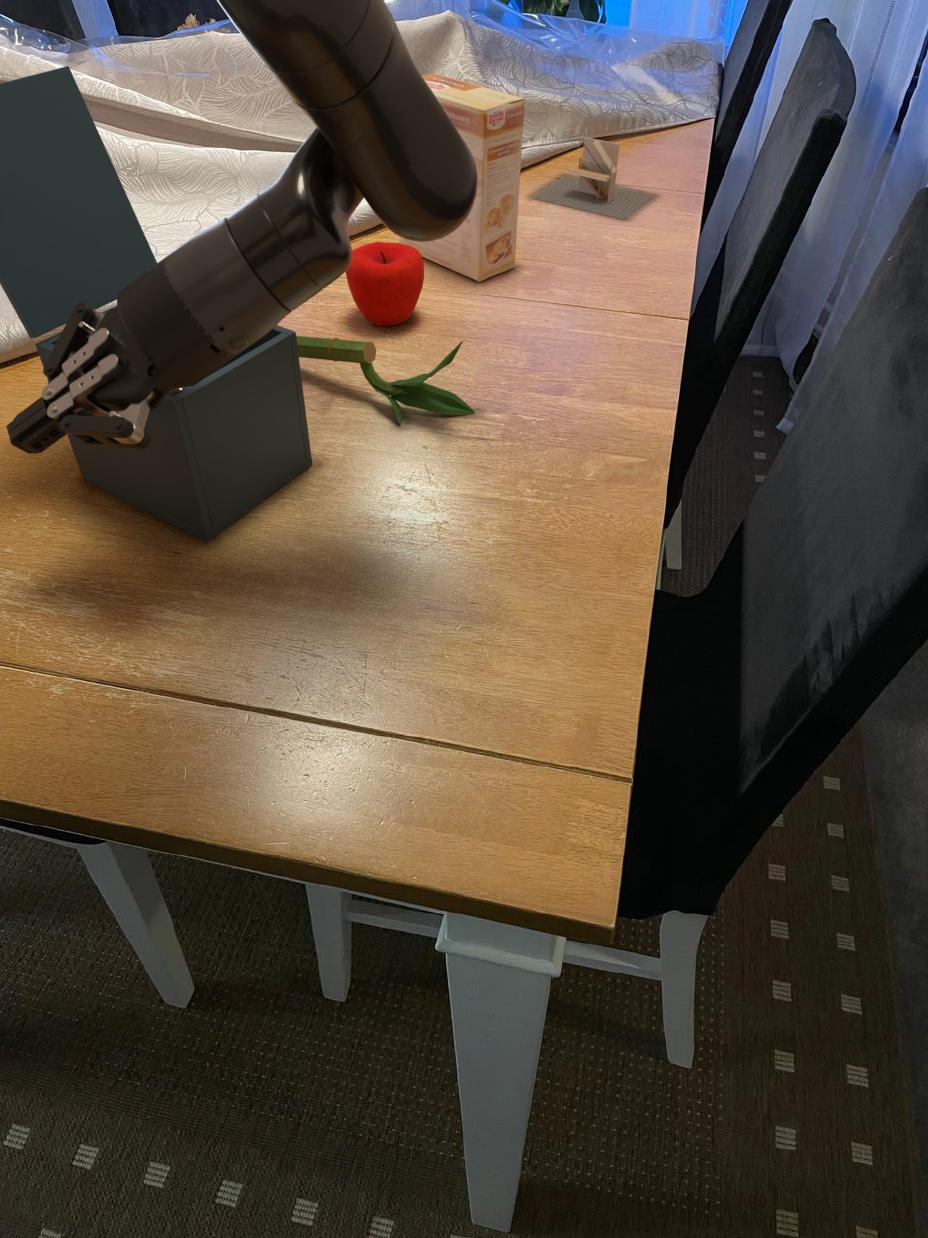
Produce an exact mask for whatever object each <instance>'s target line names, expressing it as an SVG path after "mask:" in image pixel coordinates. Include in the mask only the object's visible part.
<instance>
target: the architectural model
mask: <svg viewBox="0 0 928 1238" xmlns="http://www.w3.org/2000/svg"><path fill="white" fill-rule="evenodd" d="M583 138H584V139H583V143H582V144H583V147H582V157H579V160H578V163H572V164H570V165H569V166H568V167H565V169H564V170H563V171H564V173H566V174H571V175H574V176H579V178H578V177H572V176H569V175H564V176H562V177H561V178H560V179H558V180H556V181H555V182H554V183H552V184H551V185H548V187H546V188H545V189H542V191H540V192H538V193H537V194H536V195H534V196H532V198H531V199H535V200H537V201H543V202H547V203H551V204H555V205H560V206H564V207H569V208H572V209H577V210H580V211H585V212H590V213H593V214H598V215H603V216H605V217H606V216H607V217H610V218H615V219H620V220H622V221H623V220H624V221H625V220H626V219H628V218H629V217H630V216H632V215H633V214H634V213H635V212H637V211H638V210H639V209H640V208H641V207H643V206H644V205H645V204H646V203H648V202H649V201H650V200H651V199H653V198H654V197H655V195H654V194H650V193H646V192H641V191H638V190H637V191H636V190H632V189H629V188H628V189H627V188H624V187H623V188H622V187H619V186H616V181H617V174H618V167H617V166H618V161H619V152H620V143H616V142H611V141H607V140H602V139H596V138H592V137H586V136H585V137H583Z"/></svg>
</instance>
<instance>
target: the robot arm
mask: <svg viewBox="0 0 928 1238" xmlns="http://www.w3.org/2000/svg"><path fill="white" fill-rule="evenodd" d="M216 1H217V3H218V4H219V6H220V7H221V9H222V10H223V11H224V13H225V14H226V16H227V17H228V18H229V20H230V22H231V23H232V24H233V26H234V27H235V29H236V30H237V31H238V32H239V34H240V35H241V36H242V38H243V39H244V40H245V42H246V43H247V44H248V46H249V47H250V49H251V50H252V51H253V52H254V54H255V55H256V56H257V58H258V59H259V60H260V62H261V63H262V64H263V65H264V67H265V68H266V69H267V70H268V72H269V73H270V75H271V76H272V77H273V78H274V79H275V81H276V82H277V83H278V85H279V86H280V87H281V88H282V89H283V91H284V92H285V93H286V95H287V96H288V97H289V99H290V100H291V101H292V102H293V103H294V104H295V106H296V107H297V108H298V109H299V110H300V111H301V112H302V113H303V114H304V115H305V116H306V117H307V118H308V120H309V121H310V122H311V123H312V124H313V126H315V127H314V128H313V130H312V131H311V133H310V134H309V135H308V136H307V138H306V139H305V140H304V142H303V143H302V144H301V145H300V147H299V148H298V149H297V150H296V152H295V153H294V154H293V156H291V159H290V160H289V161H288V163H287V165H286V166H285V167H284V169H283V170H282V171H281V173H280V174H279V176H278V177H277V178H276V179H275V180H274V181H273V182H271V184H269V185H268V186H266V187H265V188H263V189H262V190H261V191H259V192H258V193H256V194H255V195H253V196H252V197H251V198H250V199H249V200H247V201H246V202H244V203H243V204H242V205H240V206H239V207H238V208H236V209H235V210H234V211H232V212H231V213H229V214H228V215H227V216H226V217H224V218H223V219H221V220H220V221H218V222H216V223H214V224H213V225H211V226H209V227H207V228H205V229H203V230H202V231H199V232H198V233H196V234H195V235H194V236H192V237H190V238H189V239H188V240H187V241H185V242H184V243H182V244H181V245H180V246H179V247H177V248H176V249H175V250H173V251H172V252H171V253H169V254H167V256H165V257H164V258H162V259H161V260H159V261H158V262H157V264H156V265H155V266H153V267H152V268H151V269H149V270H148V271H147V272H145V273H144V274H143V275H141V276H140V277H139V278H137V279H136V280H135V281H133V282H132V283H131V284H129V285H128V286H127V287H125V288H124V289H123V290H121V291H120V293H119V294H118V297H117V300H116V306H117V308H113V309H111V310H109V311H108V312H107V313H106V314H103V313H102V312H99V311H97V310H94V309H93V308H91V307H90V306H89V305H87V304H86V303H85V302H80V303H78V304H77V305H76V306H75V308H74V310H73V312H72V313H71V315H70V317H69V319H68V321H67V323H66V324H64V327H63V329H62V331H61V332H62V333H61V335H60V337H59V339H58V341H57V343H56V345H55V347H54V348H53V350H52V352H51V354H50V356H49V358H48V360H47V362H46V364H45V366H44V367H43V368H42V373H43V375H44V376H46V378H47V377H48V379H47V385H45V386H44V387H43V389H42V391H41V397H39V398H37V400H35V401H34V402H32V403H31V404H30V405H28V406H26V407H25V408H24V409H23V410H21V411H20V412H19V413H18V414H17V415H16V416H15V417H14V418H13V419H12V421H10V422H9V423H8V424H7V425H6V430H7V435H8V437H9V441H10V445H12V446H13V447H15V448H17V449H19V450H21V451H22V452H25V453H27V454H31V455H33V454H35V455H38V454H41V453H43V452H44V451H45V450H47V449H48V448H50V447H52V445H54V444H55V443H57V442H58V441H60V439H62V438H64V437H65V436H66V435H67V434H70V435H71V436H73V437H75V438H77V439H78V440H80V441H82V443H84V444H86V445H87V446H93V447H114V448H135V449H144V448H146V447H147V446H148V445H149V444H150V442H151V435H150V434H149V433H147V432H146V431H144V427H145V424H146V420H147V417H148V413H149V410H153V409H155V408H157V407H158V406H160V405H161V403H162V402H163V400H164V399H165V397H166V396H167V395H168V394H169V392H170V391H172V390H173V389H175V388H180V387H191V386H194V385H196V384H198V383H199V382H200V381H202V380H203V379H205V378H206V377H207V376H209V375H210V374H212V373H213V372H214V371H216V370H217V369H219V368H220V367H221V366H223V365H224V364H226V363H227V362H229V361H230V360H231V359H233V358H234V357H236V356H237V355H238V354H240V353H241V352H242V351H244V350H245V349H247V348H248V347H250V346H251V345H252V344H254V343H255V342H257V341H258V340H259V339H261V338H262V337H264V336H265V335H266V334H268V333H269V332H270V331H271V330H272V329H273V328H274V327H275V326H276V325H279V324H280V323H281V322H282V321H283V320H284V319H285V318H286V317H287V316H288V315H290V314H291V313H292V312H293V311H295V310H296V309H298V308H299V307H301V306H302V305H303V304H305V303H306V302H308V301H309V300H311V299H312V298H313V297H315V296H316V295H317V294H319V293H320V292H322V291H323V290H324V289H326V288H327V287H329V286H330V285H331V284H333V283H334V282H335V281H337V280H338V279H339V278H340V277H341V276H343V274H346V270H347V269H348V268H349V266H350V264H351V262H352V250H353V247H352V244H351V239H350V234H349V221H350V218H351V217H352V215H353V214H354V212H355V211H356V209H357V208H358V207H359V205H360V204H361V203H362V201H363V200H365V201H366V203H367V204H368V206H369V207H370V209H371V210H372V212H373V213H374V214H375V216H376V217H377V219H378V220H379V221H380V222H381V223H382V225H383V226H385V227H386V229H388V230H389V231H390V232H392V233H393V234H394V235H397V236H398V237H399V238H400V237H403V238H405V239H408V240H412V241H419V242H427V241H434V240H438V239H441V238H443V237H446V236H447V235H449V234H451V233H452V232H454V231H455V230H456V229H457V228H459V226H460V225H461V224H462V223H463V222H464V221H465V220H466V218H467V217H468V215H469V213H470V211H471V209H472V207H473V205H474V201H475V198H476V194H477V185H478V176H477V168H476V164H475V160H474V158H473V155H472V153H471V151H470V149H469V148H468V146H467V145H466V143H465V141H464V140H463V138H462V137H461V135H460V134H459V132H458V131H457V129H456V127H455V126H454V124H453V123H452V121H451V120H450V118H449V116H448V115H447V113H446V112H445V110H444V109H443V107H442V106H441V104H440V102H439V101H438V99H437V98H436V96H435V95H434V93H433V92H432V90H431V89H430V88H429V86H428V85H427V83H426V82H425V80H424V79H423V77H422V76H423V75H422V74H421V73H420V70H419V69H418V67H417V66H416V64H415V61H414V59H413V58H412V56H411V54H410V52H409V49H408V47H407V45H406V42H405V41H404V38H403V36H402V34H401V32H400V29H399V28H398V27H399V26H398V25H397V22H396V21H395V19H394V17H393V15H392V13H391V11H390V9H389V7H388V6H387V4H386V2H385V0H216ZM70 353H72V354H73V356H71V357H70V358H69V359H68V357H69V355H70ZM67 359H68V360H67ZM83 408H84V409H83ZM81 409H83V410H81ZM80 410H81V411H80ZM79 411H80V412H79Z"/></svg>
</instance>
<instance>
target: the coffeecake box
mask: <svg viewBox="0 0 928 1238" xmlns="http://www.w3.org/2000/svg"><path fill="white" fill-rule="evenodd" d="M421 76H422V77H423V79H424V80H425V82H426V83H427V85H428V86H429V88H430V89H431V90H432V92H433V93H434V95H435V96H436V98H437V99H438V101H439V102H440V104H441V106H442V107H443V109H444V110H445V112H446V113H447V115H448V116H449V118H450V120H451V121H452V123H453V124H454V126H455V127H456V129H457V131H458V132H459V134H460V135H461V137H462V138H463V140H464V141H465V143H466V145H467V146H468V148H469V149H470V151H471V153H472V155H473V158H474V160H475V164H476V168H477V176H478V185H477V194H476V198H475V201H474V205H473V207H472V209H471V211H470V213H469V215H468V217H467V218H466V220H465V221H464V222H463V223H462V224H461V225H460V226H459V228H457V229H456V230H455V231H454V232H452V233H451V234H449V235H447V236H446V237H443V238H441V239H438V240H434V241H427V242H419V241H412V240H408V239H405V238H403V237H400V236H399V243H400V244H405V245H409V246H412V247H414V248H415V249H417V250H418V251H419V253H420V255H421V257H422V258H425V259H426V260H429V261H431V262H433V263H436V264H438V265H440V266H443V267H445V268H447V269H449V270H451V271H454V272H456V273H458V274H459V275H463V276H464V277H467V278H469V279H472V280H474V281H476V282H478V283H480V282H483V281H485V280H487V279H489V278H491V277H495V276H497V275H499V274H502V273H505V272H508V271H509V270H511V269H515V268H516V253H517V252H516V251H517V250H516V249H517V233H518V218H519V217H518V216H519V203H520V202H519V199H520V186H521V185H520V183H521V169H522V168H521V167H522V154H523V153H522V151H523V137H524V136H523V134H524V121H525V120H524V119H525V106H526V105H525V104H526V98H525V97H521V96H517V95H514V94H511V93H506V92H503V91H498V90H495V89H492V88H489V87H485V86H482V85H478V84H474V83H471V82H467V81H464V80H460V79H457V78H454V77H450V76H446V75H443V74H440V73H436V72H434V73H427V74H423V75H421Z"/></svg>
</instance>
